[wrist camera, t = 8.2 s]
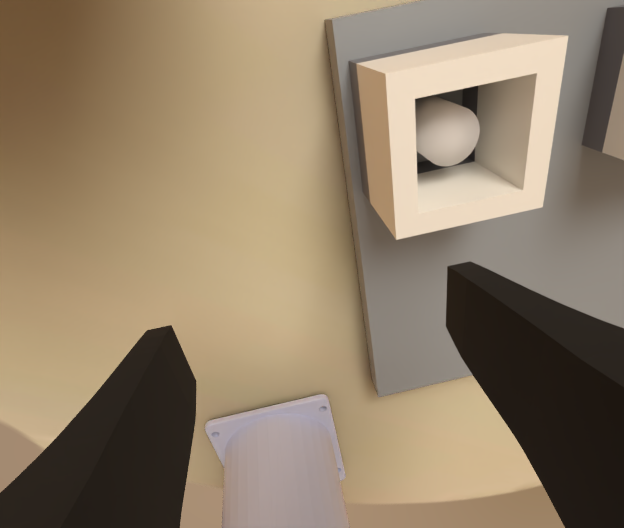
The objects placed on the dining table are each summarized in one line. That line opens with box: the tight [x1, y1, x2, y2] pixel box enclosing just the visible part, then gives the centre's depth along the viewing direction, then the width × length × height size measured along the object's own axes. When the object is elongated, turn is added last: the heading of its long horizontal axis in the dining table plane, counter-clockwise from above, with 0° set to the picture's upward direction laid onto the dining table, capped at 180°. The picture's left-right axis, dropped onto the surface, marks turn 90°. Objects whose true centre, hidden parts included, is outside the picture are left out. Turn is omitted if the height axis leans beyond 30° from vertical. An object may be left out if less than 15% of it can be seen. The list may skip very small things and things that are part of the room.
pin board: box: [325, 0, 624, 397], centre depth 19 cm, size 20×16×4 cm
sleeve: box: [349, 33, 568, 240], centre depth 14 cm, size 5×5×4 cm
